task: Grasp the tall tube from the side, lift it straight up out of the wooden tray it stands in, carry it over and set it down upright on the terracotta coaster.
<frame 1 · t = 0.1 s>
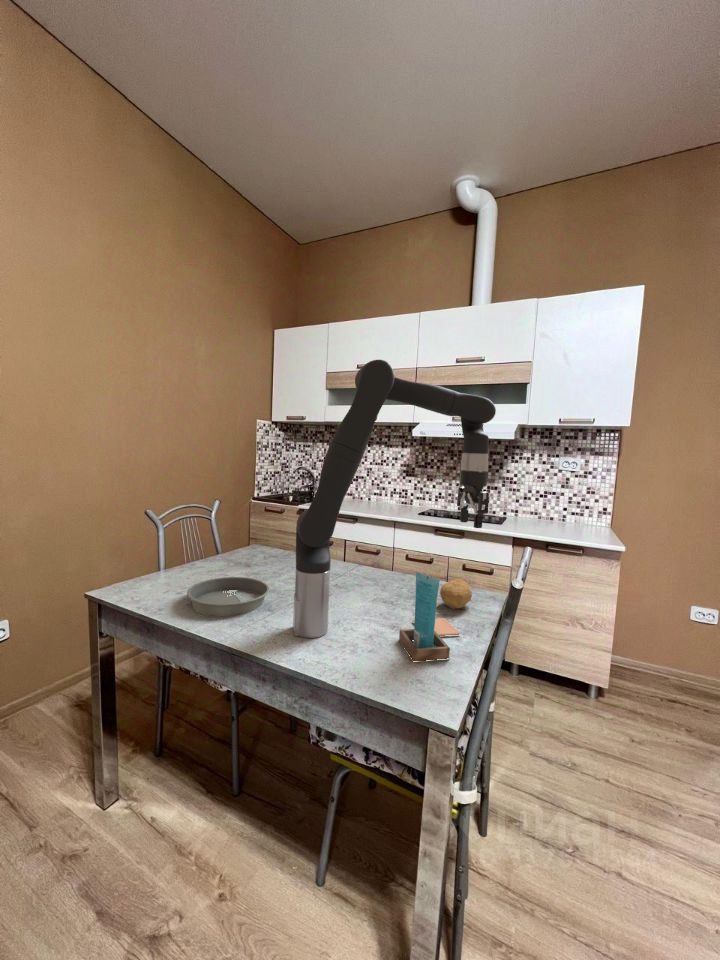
hand: (470, 524, 119), 29 cm above the table, tool pointing down, fingers open, 8 cm apart
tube: (422, 650, 103), resting in wooden tray
potato: (454, 607, 133), on the table
wooden tray: (423, 649, 103), on the table
coaster: (435, 629, 116), on the table
cake pan: (229, 603, 128), on the table
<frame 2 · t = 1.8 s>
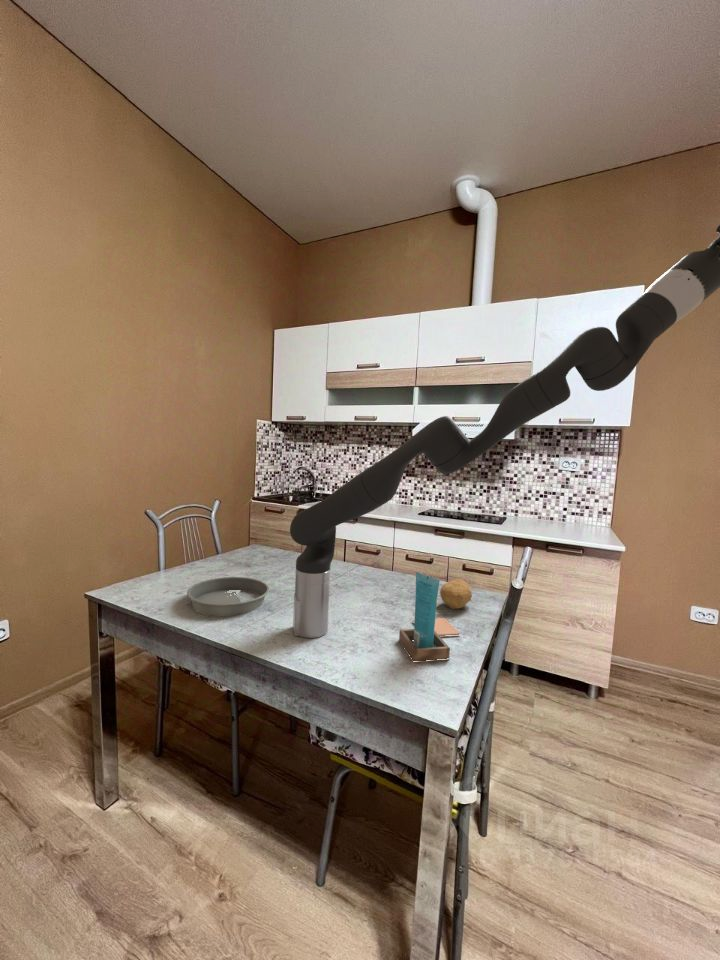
nothing on the table moved.
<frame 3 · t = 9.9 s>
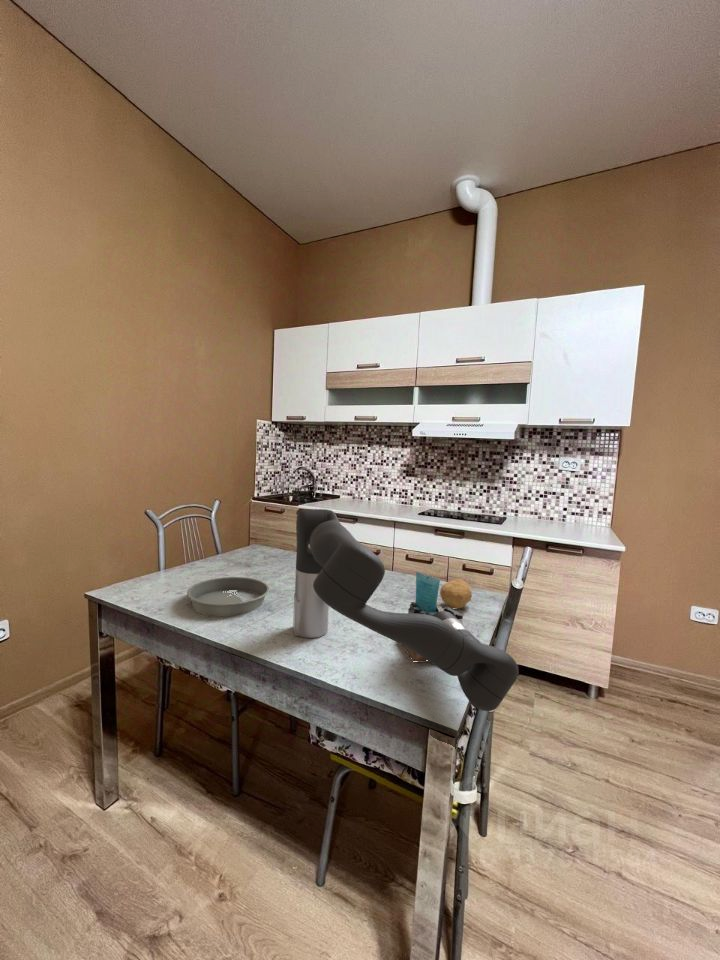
hand: (421, 605, 105), 11 cm above the table, tool horizontal, fingers closed on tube, 4 cm apart
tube: (422, 650, 103), resting in wooden tray, touching gripper
everything else where it was.
when the fingers open (12 cm above the table, at t = 15.7 s): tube drops 1 cm, resting on coaster.
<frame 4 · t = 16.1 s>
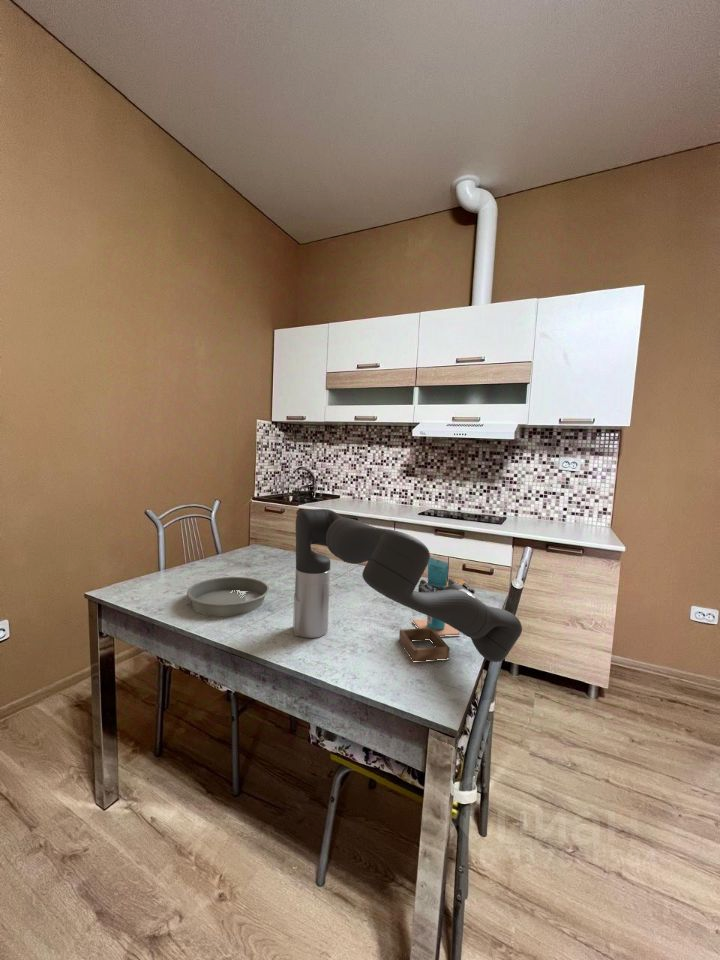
hand: (435, 582, 117), 13 cm above the table, tool horizontal, fingers open, 8 cm apart
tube: (435, 626, 116), point 1 cm above the table, touching coaster
everything else where it was.
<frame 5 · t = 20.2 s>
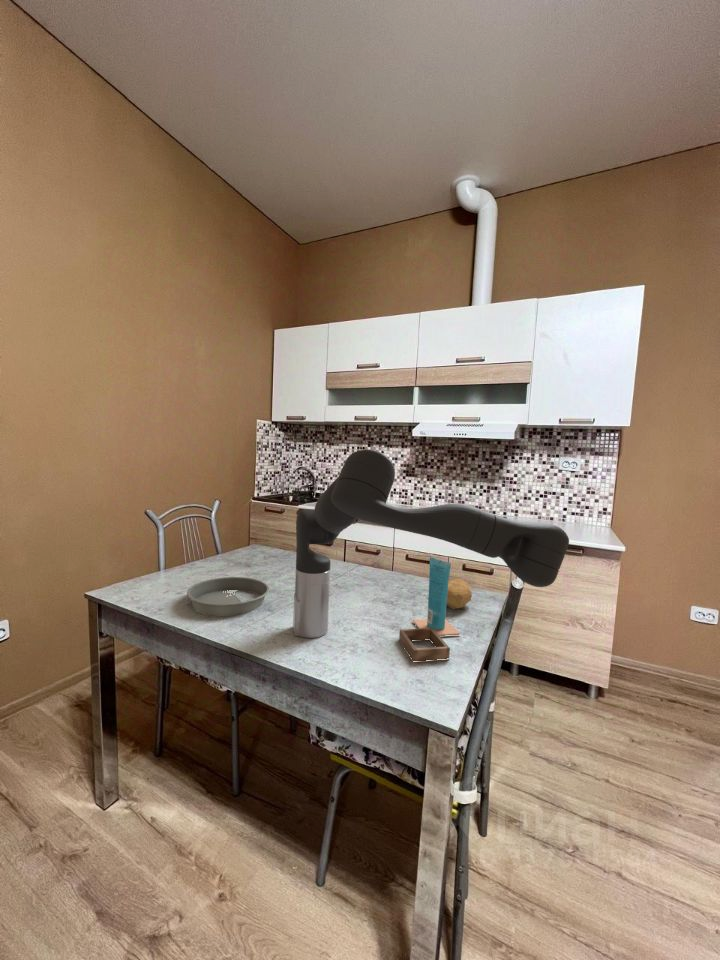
hand: (453, 518, 100), 34 cm above the table, tool horizontal, fingers open, 8 cm apart
nothing on the table moved.
at the end: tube inside the target area on the coaster (0.1 cm from its centre), point 0.6 cm above the coaster's base; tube tilted 0°; the gripper is holding nothing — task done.
